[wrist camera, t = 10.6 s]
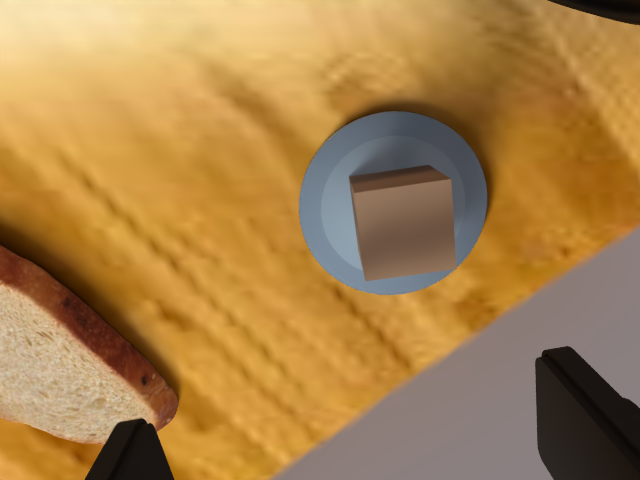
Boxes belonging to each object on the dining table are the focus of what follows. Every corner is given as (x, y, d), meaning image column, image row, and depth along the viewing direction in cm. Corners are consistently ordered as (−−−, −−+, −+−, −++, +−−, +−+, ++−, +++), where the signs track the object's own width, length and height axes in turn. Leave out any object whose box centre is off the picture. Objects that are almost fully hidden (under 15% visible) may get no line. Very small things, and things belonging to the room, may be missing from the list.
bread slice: (185, 430, 36) (170, 467, 32) (-38, 436, 36) (-77, 473, 32) (152, 214, 30) (130, 230, 27) (-110, 222, 30) (-167, 238, 27)
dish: (285, 127, 28) (283, 128, 27) (476, 96, 28) (483, 96, 26) (315, 298, 32) (315, 306, 31) (484, 274, 31) (491, 281, 30)
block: (348, 176, 28) (354, 193, 23) (428, 164, 28) (451, 179, 23) (358, 251, 29) (365, 281, 25) (434, 240, 29) (456, 269, 24)
